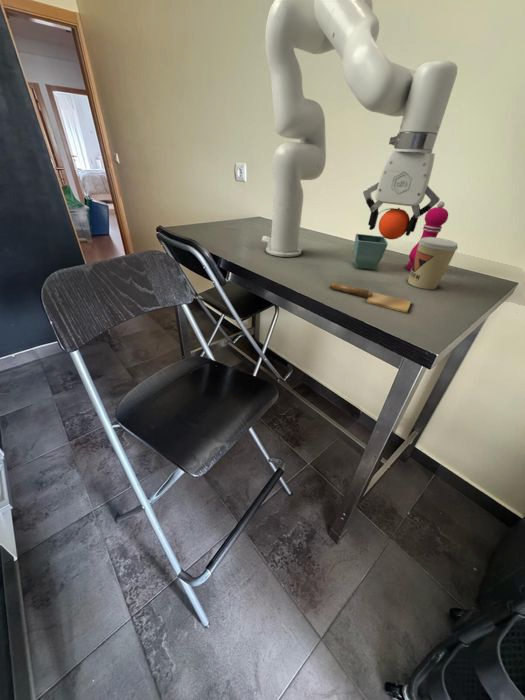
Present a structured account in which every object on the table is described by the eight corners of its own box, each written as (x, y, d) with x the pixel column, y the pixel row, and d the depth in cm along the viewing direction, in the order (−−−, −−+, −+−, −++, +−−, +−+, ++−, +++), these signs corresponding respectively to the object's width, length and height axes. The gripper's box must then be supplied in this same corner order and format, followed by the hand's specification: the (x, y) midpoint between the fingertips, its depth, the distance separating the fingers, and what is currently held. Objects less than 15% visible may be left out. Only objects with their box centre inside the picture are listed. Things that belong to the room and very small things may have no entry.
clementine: (370, 239, 70) (378, 207, 66) (371, 233, 75) (379, 203, 71) (404, 244, 68) (415, 211, 63) (403, 237, 73) (413, 207, 69)
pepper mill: (401, 269, 92) (424, 200, 81) (409, 264, 97) (432, 198, 85) (424, 275, 89) (452, 204, 77) (431, 270, 93) (459, 202, 82)
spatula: (326, 291, 74) (327, 285, 73) (333, 284, 78) (334, 278, 77) (406, 313, 66) (409, 306, 65) (410, 303, 71) (412, 297, 69)
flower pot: (379, 273, 88) (388, 243, 83) (350, 269, 89) (357, 240, 84) (376, 264, 95) (384, 236, 90) (349, 261, 96) (355, 233, 91)
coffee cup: (400, 277, 86) (414, 235, 79) (430, 279, 86) (447, 237, 79) (412, 289, 78) (429, 244, 72) (446, 291, 79) (466, 247, 72)
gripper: (369, 141, 61) (350, 228, 71) (460, 145, 54) (425, 241, 64) (376, 143, 66) (358, 224, 76) (461, 147, 59) (429, 235, 69)
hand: (389, 231), depth 70 cm, fingers closed on clementine, 8 cm apart
